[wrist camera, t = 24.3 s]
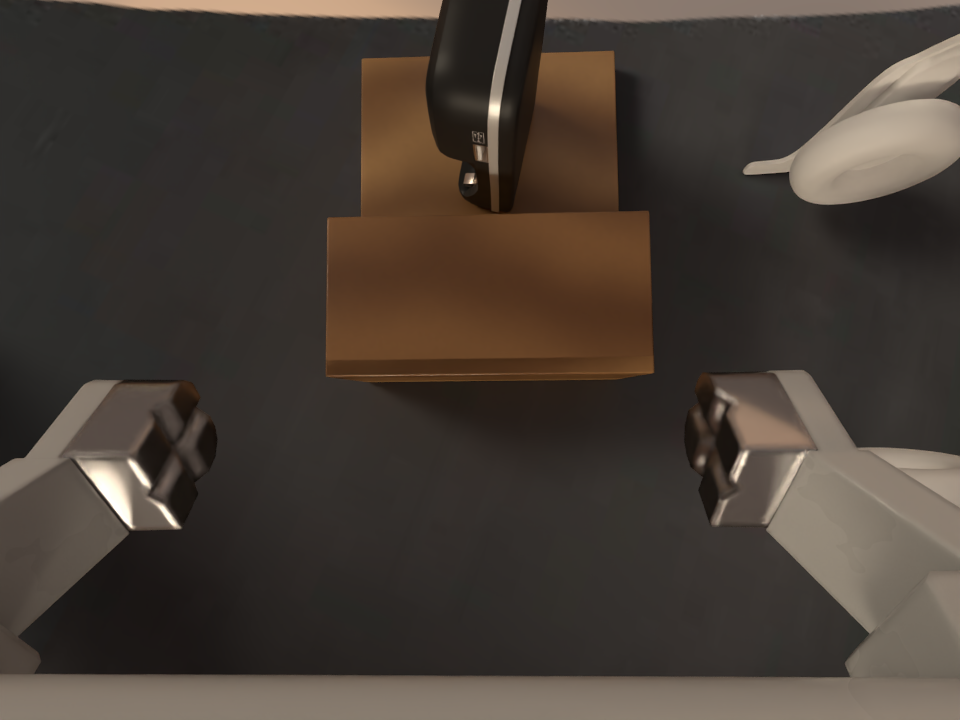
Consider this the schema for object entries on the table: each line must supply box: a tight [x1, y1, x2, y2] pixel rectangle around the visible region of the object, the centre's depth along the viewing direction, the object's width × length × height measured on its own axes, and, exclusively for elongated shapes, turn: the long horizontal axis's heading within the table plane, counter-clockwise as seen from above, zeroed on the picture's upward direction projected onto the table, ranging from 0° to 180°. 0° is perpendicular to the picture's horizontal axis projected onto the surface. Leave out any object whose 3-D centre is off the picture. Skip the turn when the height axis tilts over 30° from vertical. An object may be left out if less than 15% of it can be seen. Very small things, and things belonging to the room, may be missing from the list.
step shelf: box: [326, 51, 654, 382], centre depth 28 cm, size 18×14×8 cm
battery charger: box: [425, 0, 548, 213], centre depth 25 cm, size 7×4×11 cm, turn 168°
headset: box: [743, 34, 960, 508], centre depth 22 cm, size 20×7×18 cm, turn 2°
